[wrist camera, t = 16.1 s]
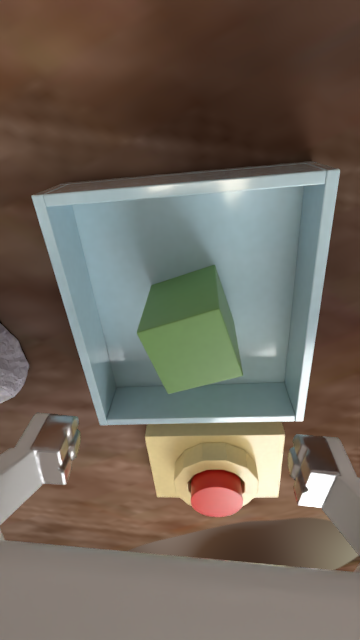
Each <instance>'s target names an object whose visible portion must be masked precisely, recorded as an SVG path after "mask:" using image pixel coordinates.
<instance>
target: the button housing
mask: <svg viewBox="0 0 360 640" xmlns="http://www.w3.org/2000/svg"><path fill="white" fill-rule="evenodd" d="M145 441H146V445H147V450H148V455H149V460H150V465H151V470H152V474H153V479H154V484H155V489H156V494H157V497H180V498H181V499H182V500H184V501H185V502H186V503H187V504H189V505H191V480H192V478H193V476H194V475H195V474H197V473H200V472H202V471H205V470H226V471H229V472H232V473H235V474H236V475H237V476H238V477H239V478H240V481H241V487H242V496H243V505H242V506H244V505H246V504H248V503H249V502H250V501H251V500H252V499H253V498H254V497H278V495H279V486H280V477H281V468H282V459H283V450H284V441H285V432H284V428H283V425H282V422H234V423H181V424H147V427H146V432H145ZM191 506H192V505H191Z"/></svg>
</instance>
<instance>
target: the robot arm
mask: <svg viewBox="0 0 360 640" xmlns="http://www.w3.org/2000/svg"><path fill="white" fill-rule="evenodd" d="M78 425H79V421H78V417H76V416H67V415H58V414H47V413H36V414H35V415H34V416H33V417H32V419H31V421H30V423H29V424H28V426H27V428H26V429H25V431H24V433H23V434H22V436H21V438H20V439H19V441H18V443H17V444H16V446H15V448H10V449H8V450H7V451H5V452H4V453H2V454H1V455H0V525H1V524H2V523H3V522H4V521H5V520H6V519H7V518H8V517H9V516H10V515H11V514H12V513H13V512H14V511H15V510H16V509H18V508H19V507H20V506H21V505H22V504H23V503H24V502H25V501H26V500H27V499H28V498H29V497H30V496H31V495H32V494H33V493H34V492H35V491H36V490H37V489H38V488H40V487H41V486H42V484H60V485H66V483H67V480H68V478H69V475H70V472H71V470H72V464H71V461H72V460H74V459H75V458H76V457H77V454H78V451H79V447H80V442H81V434H80V431H79V430H78V429H77V427H78ZM293 444H294V447H292V448H291V449H290V451H289V454H288V469H289V473H290V476H291V477H292V478H293V479H294V480H295V483H294V486H293V489H294V493H295V496H296V500H297V504H298V505H301V506H310V507H319V508H322V510H323V511H324V513H325V514H326V515H327V516H328V518H329V519H330V520H331V521H332V522H333V524H334V525H335V526H336V528H337V529H338V530H339V531H340V533H341V534H342V535H343V536H344V537H345V539H346V540H347V541H348V542H349V544H350V545H351V546H352V548H353V549H354V550H355V551H356V553H357V554H358V555H359V556H360V478H358V477H357V475H356V473H355V471H354V469H353V467H352V464H351V462H350V460H349V458H348V456H347V454H346V451H345V449H344V447H343V445H342V443H341V441H340V439H339V438H337V437H323V436H313V435H298V434H296V435H295V436H294V439H293ZM0 640H360V563H359V565H358V566H357V568H356V569H355V571H354V572H349V571H337V570H325V569H315V568H304V567H293V566H282V565H271V564H260V563H249V562H239V561H228V560H216V559H206V558H194V557H184V556H172V555H161V554H149V553H139V552H128V551H117V550H106V549H95V548H84V547H73V546H62V545H51V544H40V543H29V542H18V541H6V540H5V539H4V536H3V534H2V531H1V529H0Z"/></svg>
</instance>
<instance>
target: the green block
mask: <svg viewBox="0 0 360 640" xmlns="http://www.w3.org/2000/svg"><path fill="white" fill-rule="evenodd" d="M137 335H138V337H139V339H140V341H141V343H142V345H143V347H144V349H145V351H146V352H147V354H148V356H149V358H150V360H151V362H152V364H153V366H154V368H155V370H156V372H157V374H158V376H159V378H160V380H161V382H162V384H163V386H164V387H165V389H166V391H167V393H168V394H171V393H175V392H179V391H183V390H187V389H191V388H196V387H200V386H204V385H208V384H212V383H216V382H220V381H224V380H228V379H232V378H237V377H241V376H243V371H242V365H241V359H240V354H239V348H238V342H237V336H236V331H235V325H234V320H233V317H232V314H231V311H230V308H229V305H228V302H227V299H226V296H225V293H224V290H223V287H222V284H221V281H220V278H219V275H218V272H217V269H216V266H215V265H211V266H208V267H205V268H202V269H199V270H196V271H193V272H190V273H187V274H184V275H181V276H178V277H175V278H172V279H169V280H166V281H163V282H160V283H156V284H153V285H151V288H150V291H149V294H148V297H147V301H146V304H145V307H144V310H143V313H142V317H141V320H140V323H139V326H138V329H137Z"/></svg>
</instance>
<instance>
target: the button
mask: <svg viewBox="0 0 360 640" xmlns="http://www.w3.org/2000/svg"><path fill="white" fill-rule="evenodd" d="M191 505H192V507H193V508H194V509H195V510H196V511H197V512H199V513H201V514H203V515H206V516H211V517H224V516H229V515H232V514H234V513H236V512H238V511H239V510H240V509H241V507H242V505H243V496H242V487H241V481H240V478H239V477H238V476H237V475H236V474H235V473H232V472H229V471H226V470H205V471H202V472H200V473H197V474H195V475H194V476H193V478H192V480H191Z"/></svg>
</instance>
